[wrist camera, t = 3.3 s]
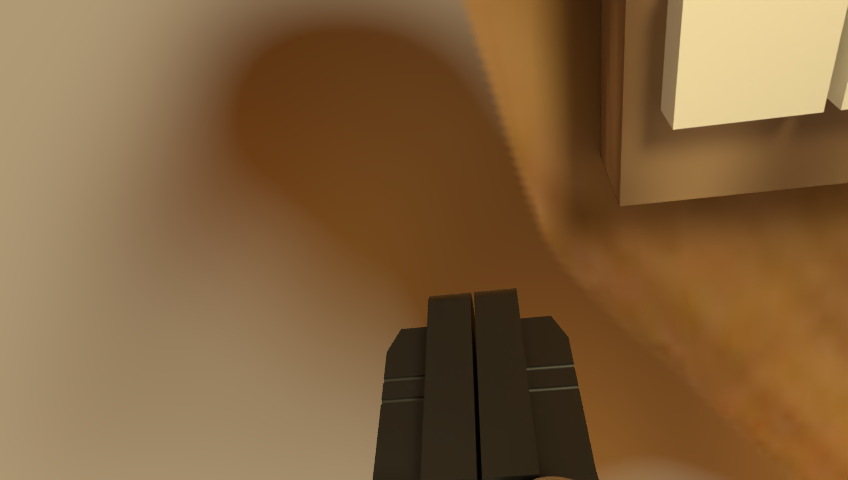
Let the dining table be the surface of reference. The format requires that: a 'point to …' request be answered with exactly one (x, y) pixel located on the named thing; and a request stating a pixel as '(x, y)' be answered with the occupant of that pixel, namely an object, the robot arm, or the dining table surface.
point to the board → (697, 128)
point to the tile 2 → (840, 72)
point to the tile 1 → (748, 59)
